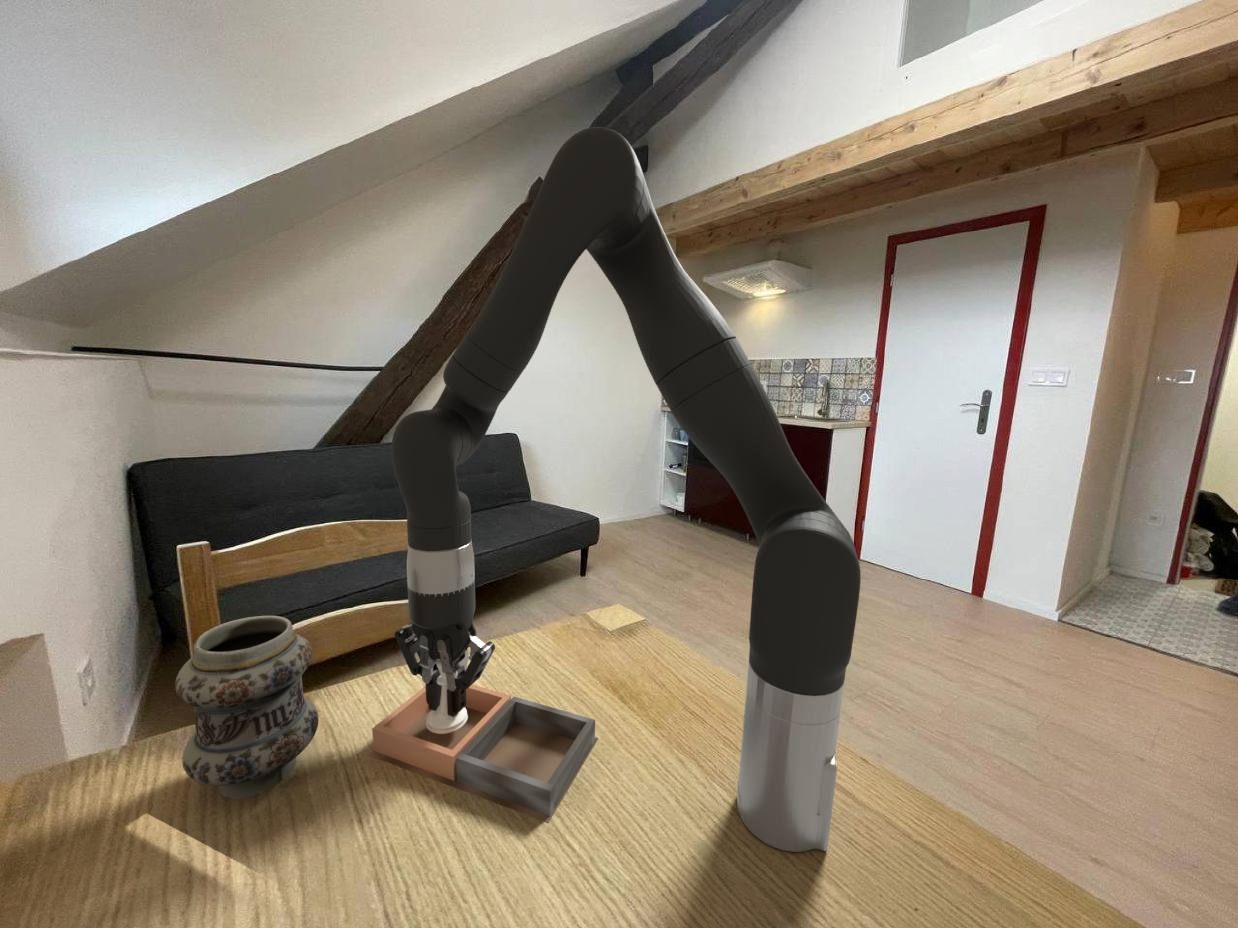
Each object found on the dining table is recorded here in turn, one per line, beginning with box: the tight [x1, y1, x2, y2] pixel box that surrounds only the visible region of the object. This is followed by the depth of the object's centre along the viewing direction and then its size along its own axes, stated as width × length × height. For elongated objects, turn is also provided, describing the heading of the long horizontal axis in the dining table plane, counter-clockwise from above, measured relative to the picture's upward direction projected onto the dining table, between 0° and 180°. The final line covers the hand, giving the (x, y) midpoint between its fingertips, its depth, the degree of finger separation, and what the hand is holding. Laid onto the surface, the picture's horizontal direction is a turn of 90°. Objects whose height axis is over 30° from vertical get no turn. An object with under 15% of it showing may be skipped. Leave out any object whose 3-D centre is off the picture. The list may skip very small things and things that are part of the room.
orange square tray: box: [371, 683, 512, 781], centre depth 63 cm, size 12×12×3 cm
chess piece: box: [426, 659, 468, 734], centre depth 62 cm, size 5×5×10 cm
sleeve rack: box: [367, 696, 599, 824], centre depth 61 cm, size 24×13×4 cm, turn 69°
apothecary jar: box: [174, 615, 320, 800], centre depth 55 cm, size 12×12×18 cm
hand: (446, 708), depth 62 cm, fingers closed on chess piece, 2 cm apart
